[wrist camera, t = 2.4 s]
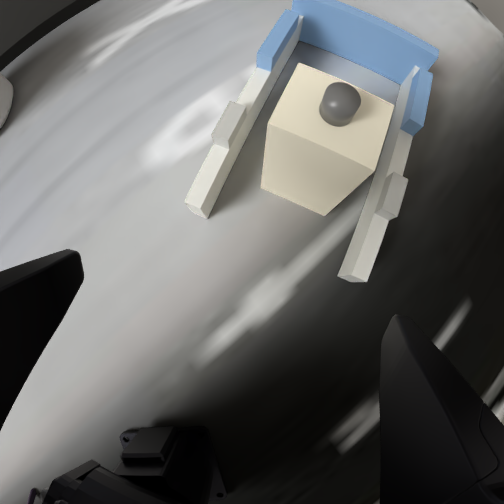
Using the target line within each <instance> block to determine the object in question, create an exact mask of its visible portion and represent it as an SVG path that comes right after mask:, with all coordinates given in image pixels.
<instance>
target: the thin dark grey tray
mask: <svg viewBox="0 0 504 504" xmlns="http://www.w3.org/2000/svg"><path fill="white" fill-rule="evenodd" d="M98 1H100V0H0V71H1V70H2V69H4V68H5V67H6V66H7V65H8V64H9V63H10V62H12V61H13V60H14V59H15V58H16V57H18V56H19V55H20V54H21V53H23V52H24V51H25V50H26V49H28V48H29V47H30V46H31V45H33V44H34V43H35V42H37V41H38V40H39V39H41V38H42V37H44V36H45V35H46V34H48V33H49V32H51V31H52V30H53V29H55V28H56V27H58V26H59V25H61V24H62V23H64V22H65V21H67V20H68V19H70V18H71V17H73V16H75V15H76V14H78V13H79V12H81V11H83V10H84V9H86V8H88V7H89V6H91V5H93V4H95V3H96V2H98Z"/></svg>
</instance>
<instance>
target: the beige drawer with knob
mask: <svg viewBox="0 0 504 504" xmlns="http://www.w3.org/2000/svg"><path fill="white" fill-rule="evenodd" d="M393 109H394V105H393V104H391V103H389V102H387V101H385V100H383V99H381V98H379V97H377V96H375V95H373V94H371V93H369V92H367V91H365V90H363V89H361V88H359V87H357V86H354V85H352V84H350V83H348V82H346V81H343V80H341V79H339V78H336V77H334V76H332V75H329V74H327V73H324V72H322V71H320V70H317V69H314V68H312V67H309V66H307V65H304V64H301V63H298V65H297V67H296V69H295V71H294V73H293V75H292V77H291V78H290V80H289V82H288V84H287V86H286V88H285V90H284V92H283V94H282V96H281V98H280V100H279V102H278V104H277V106H276V108H275V110H274V112H273V114H272V116H271V118H270V120H269V122H268V125H267V134H266V143H265V152H264V161H263V171H262V180H261V189H264V190H266V191H268V192H271V193H273V194H275V195H278V196H280V197H282V198H285V199H287V200H289V201H292V202H294V203H296V204H298V205H301V206H303V207H305V208H307V209H310V210H312V211H314V212H316V213H318V214H321V215H323V216H325V215H327V214H328V213H329V212H330V211H331V210H332V209H333V208H334V207H335V206H337V205H338V204H339V203H340V202H341V201H342V200H343V199H344V198H345V197H347V196H348V195H349V194H350V193H351V192H352V191H353V190H354V189H355V188H357V187H358V186H359V185H360V184H361V183H362V182H363V181H364V180H365V179H366V178H368V177H369V176H370V175H371V174H372V173H373V172H374V171H375V168H376V165H377V162H378V159H379V156H380V153H381V149H382V146H383V143H384V140H385V136H386V133H387V130H388V126H389V123H390V119H391V116H392V112H393Z"/></svg>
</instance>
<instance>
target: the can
mask: <svg viewBox="0 0 504 504" xmlns="http://www.w3.org/2000/svg"><path fill="white" fill-rule="evenodd" d="M12 97H13V86H12V84H11V83H10V82H9V81H8V80H7V79H6V78H5V77H4V76H3V75H2V74H1V73H0V129H1V127H2V126H3V124H4V123H5V121H6V119H7V117H8V115H9V112H10V109H11V105H12Z"/></svg>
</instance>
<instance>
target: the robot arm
mask: <svg viewBox="0 0 504 504" xmlns="http://www.w3.org/2000/svg"><path fill="white" fill-rule="evenodd" d="M83 280H84V271H83V267H82V262H81V256H80V254H79V252H77V251H74V250H70V249H66V250H63V251H60V252H56V253H53V254H50V255H47V256H44V257H41V258H38V259H35V260H32V261H29V262H26V263H24V264H21V265H18V266H15V267H12V268H9V269H6V270H4V271H1V272H0V431H1V428H2V426H3V424H4V422H5V420H6V418H7V416H8V414H9V412H10V410H11V408H12V406H13V404H14V402H15V400H16V398H17V396H18V394H19V393H20V391H21V389H22V387H23V385H24V383H25V382H26V380H27V378H28V376H29V374H30V373H31V371H32V369H33V367H34V366H35V364H36V362H37V361H38V359H39V357H40V355H41V354H42V352H43V350H44V349H45V347H46V345H47V344H48V342H49V341H50V339H51V337H52V336H53V334H54V333H55V331H56V329H57V328H58V326H59V325H60V323H61V321H62V320H63V318H64V316H65V314H66V312H67V310H68V309H69V307H70V305H71V303H72V301H73V299H74V297H75V295H76V294H77V292H78V290H79V288H80V286H81V285H82V283H83ZM379 404H380V432H381V483H380V504H504V425H503V424H502V423H501V422H500V421H499V419H498V418H497V417H496V416H495V415H494V413H493V412H492V411H491V410H490V408H489V407H488V406H487V405H486V404H485V403H484V404H483V400H482V399H481V398H480V396H479V395H478V394H477V393H476V392H475V390H474V389H473V388H472V387H471V386H470V384H469V383H468V382H467V381H466V380H465V379H464V377H463V376H462V375H461V374H460V373H459V372H458V371H457V369H456V368H455V367H454V366H453V365H452V364H451V363H450V361H449V360H448V359H447V358H446V357H445V356H444V355H443V354H442V352H441V351H440V350H439V349H438V348H437V347H436V346H435V345H434V344H433V342H432V341H431V340H430V339H429V338H428V337H427V336H426V335H425V334H424V333H423V331H422V330H421V329H420V328H419V327H418V326H417V325H416V324H415V323H414V322H413V321H412V320H411V319H410V318H409V317H408V316H402V315H394V316H393V317H392V319H391V321H390V323H389V325H388V327H387V330H386V332H385V334H384V336H383V339H382V343H381V366H380V386H379ZM198 432H203V433H204V434H205V435H203V436H202V435H199V434H198ZM125 436H126V437H128V438H129V440H127V439H126V438H125ZM120 441H121V444H122V446H123V449H124V451H123V452H122V453H121V455H120V458H121V461H120V463H119V464H118V465H117V467H116V468H115V469H114V471H113V472H111V471H109V470H107V469H105V468H104V467H102V466H100V464H99V463H97V462H96V461H94V460H90V461H88V462H86V463H84V464H82V465H80V466H79V467H77V468H75V469H73V470H71V471H69V472H67V473H65V474H63V475H62V476H60V477H58V478H56V479H54V480H53V481H52V483H51V485H50V487H49V488H45V489H43V490H42V492H41V494H40V498H41V502H42V504H208V501H213V500H223V499H225V498H226V497H227V489H226V486H225V483H224V480H223V477H222V474H221V471H220V468H219V464H218V461H217V458H216V455H215V451H214V448H213V445H212V441H211V438H210V434H209V431H208V429H207V428H205V427H203V426H197V427H187V428H176V427H174V426H167V427H152V428H141V429H140V430H139V431H125V432H123V433H122V434H121V435H120ZM218 493H223V494H222V495H221V494H218Z"/></svg>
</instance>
